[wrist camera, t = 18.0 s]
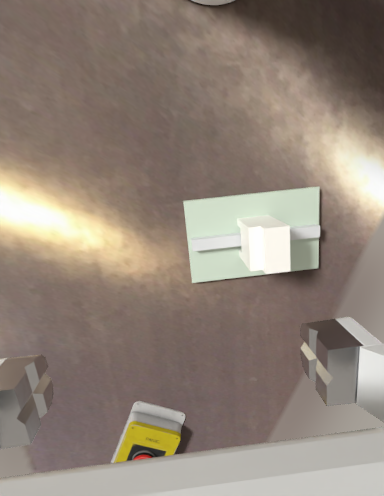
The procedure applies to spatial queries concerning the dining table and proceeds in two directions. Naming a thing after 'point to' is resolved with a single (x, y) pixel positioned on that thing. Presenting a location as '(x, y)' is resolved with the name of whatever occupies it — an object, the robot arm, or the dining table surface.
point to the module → (265, 244)
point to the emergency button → (149, 433)
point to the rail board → (229, 236)
